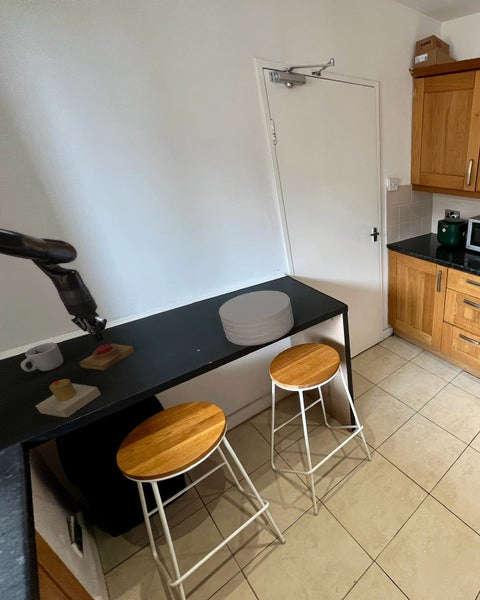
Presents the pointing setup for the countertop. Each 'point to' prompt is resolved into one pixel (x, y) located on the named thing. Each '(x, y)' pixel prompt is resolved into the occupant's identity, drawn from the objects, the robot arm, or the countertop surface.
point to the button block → (107, 357)
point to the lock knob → (63, 389)
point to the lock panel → (69, 402)
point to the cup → (43, 357)
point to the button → (104, 349)
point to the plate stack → (257, 317)
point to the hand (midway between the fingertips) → (100, 340)
